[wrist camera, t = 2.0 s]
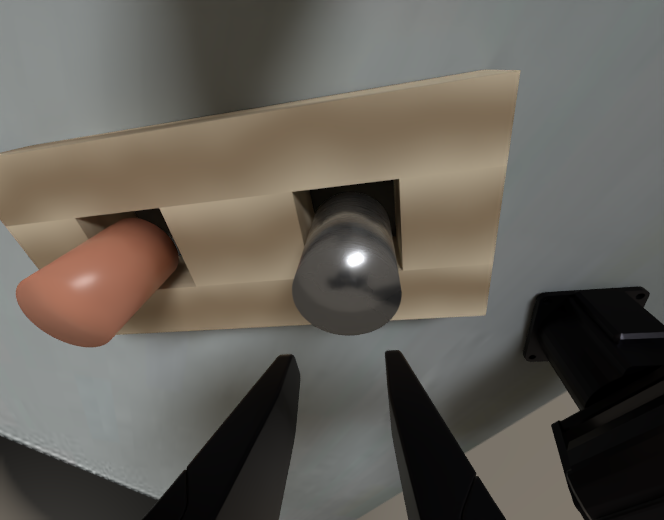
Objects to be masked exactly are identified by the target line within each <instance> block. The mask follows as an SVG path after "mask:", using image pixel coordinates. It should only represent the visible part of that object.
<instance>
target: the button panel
mask: <svg viewBox="0 0 664 520" xmlns="http://www.w3.org/2000/svg"><path fill="white" fill-rule="evenodd" d="M519 77H520V70H479V71H473V72H468V73H462V74H456V75H450V76H444V77H438V78H432V79H426V80H420V81H414V82H408V83H402V84H396V85H390V86H384V87H378V88H372V89H366V90H360V91H354V92H348V93H342V94H336V95H330V96H324V97H318V98H312V99H306V100H300V101H294V102H289V103H283V104H277V105H271V106H265V107H259V108H253V109H247V110H241V111H235V112H229V113H223V114H217V115H211V116H205V117H199V118H193V119H187V120H181V121H175V122H169V123H163V124H157V125H151V126H145V127H139V128H133V129H127V130H121V131H115V132H110V133H104V134H98V135H92V136H86V137H80V138H74V139H68V140H62V141H56V142H50V143H44V144H38V145H32V146H27V147H23V148H19V149H14V150H10V151H6V152H2V153H0V220H1V221H2V223H3V224H4V225H5V226H6V228H7V229H8V230H9V232H10V233H11V234H12V235H13V237H14V238H15V239H16V241H17V242H18V243H19V244H20V246H21V247H22V248H23V250H24V251H25V252H26V253H27V255H28V256H29V257H30V259H31V260H32V261H33V262H34V264H35V265H36V266H37V268H38V269H39V270H40V269H42V268H43V267H45V266H46V265H48V264H50V263H51V262H53V261H54V260H56V259H58V258H59V257H61V256H62V255H64V254H66V253H67V252H69V251H70V250H72V249H74V248H75V247H77V246H78V245H80V244H82V243H83V242H85V241H86V240H88V239H90V238H91V237H93V236H94V235H96V234H98V233H99V232H101V231H102V230H104V229H106V228H107V227H109V226H110V225H112V224H114V223H115V222H117V221H119V220H121V219H124V218H137V216H136V214H135V212H134V211H138V210H146V209H154V208H159V209H160V211H161V213H162V215H163V217H164V219H165V221H166V223H167V225H168V228H169V230H170V232H171V234H172V236H173V238H174V240H175V242H176V244H177V247H178V249H179V251H180V253H181V255H182V256H179V262H178V266H177V268H176V270H175V271H174V272H173V273H172V274H171V275H170V276H169V277H168V279H167V280H166V281H165V282H164V283H163V284H162V285H161V286H160V287H159V288H158V289H157V290H156V291H155V293H154V294H153V295H152V296H151V297H150V298H149V299H148V300H147V301H146V302H145V303H144V304H143V305H142V307H141V308H140V309H139V310H138V311H137V312H136V313H135V314H134V315H133V316H132V317H131V318H130V320H129V321H128V322H127V323H126V324H125V325H124V326H123V327H122V328H121V329H120V330H119V331H118V332H117V334H116V335H119V334H138V333H158V332H177V331H196V330H215V329H234V328H253V327H273V326H292V325H311V323H309V322H308V321H307V320H306V319H305V318H304V317H303V316H302V315H301V314H300V312H299V311H298V309H297V308H296V306H295V303H294V301H293V296H292V284H293V280H294V277H295V274H296V271H297V268H298V265H299V262H300V259H301V256H302V253H303V249H304V246H305V243H306V240H307V237H308V234H309V231H310V228H311V225H312V222H313V219H314V216H315V215H314V210H313V205H312V200H311V194H310V190H311V189H319V188H328V187H336V186H344V185H352V184H361V183H369V182H377V181H385V180H393V182H394V203H395V223H396V236H392V238H393V243H394V249H395V255H396V261H397V267H398V272H399V278H400V284H401V291H402V297H401V303H400V306H399V308H398V310H397V312H396V314H395V315H394V316H393V318H392V319H391V320H407V319H426V318H445V317H464V316H483V315H486V308H487V301H488V294H489V287H490V280H491V273H492V266H493V259H494V252H495V245H496V238H497V231H498V224H499V217H500V210H501V203H502V196H503V189H504V182H505V175H506V168H507V161H508V154H509V147H510V140H511V133H512V126H513V119H514V112H515V105H516V98H517V91H518V84H519Z"/></svg>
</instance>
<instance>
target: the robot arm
mask: <svg viewBox="0 0 664 520" xmlns="http://www.w3.org/2000/svg"><path fill="white" fill-rule="evenodd" d="M649 294H650V293H649V292H648V291H647V290H646V289H645V288H643V287H623V288H606V289H590V290H574V291H557V292H545V293H542V294H540V295H539V296H538V297H537V299H536V303H535V307H534V311H533V315H532V319H531V323H530V327H529V331H528V335H527V339H526V343H525V347H524V351H523V356H524V357H525V359H526V360H527V361H530V362H534V361H549V362H550V364H551V365H552V367H553V369H554V370H555V372H556V373H557V375H558V376H559V378H560V380H561V381H562V383H563V384H564V386H565V388H566V389H567V391H568V392H569V394H570V395H571V397H572V399H573V400H574V402H575V403H576V405H577V406H578V408H579V410H580V411H579V412H577V413H575V414H573V415H571V416H570V417H568V418H566V419H564V420H562V421H557V422H555V423H553V424H552V425H551V427H552V430H553V433H554V437H555V441H556V444H557V448H558V452H559V455H560V459H561V462H562V466H563V470H564V473H565V477H566V481H567V484H568V488H569V491H570V493H571V496H572V499H573V503H574V505H575V507H576V508H577V509H578V511H579V512H580V513H581V515H582V516H583V518H584V520H664V325H663V324H662V323H661V322H660V321H658V320H657V319H656V318H655V317H654V316H653V315H651V314H650V313H649V312H648V311H647V310H646V309H644V305H645V303H646V301H647V299H648V297H649ZM546 299H547V300H546ZM544 300H545V301H544ZM385 361H386V375H387V388H388V399H389V409H390V420H391V430H392V438H393V444H394V449H395V454H396V459H397V464H398V469H399V475H400V480H401V485H402V490H403V495H404V500H405V505H406V510H407V515H408V520H506V519H505V517H504V515H503V514H502V513H501V511H500V509H499V508H498V506H497V505H496V503H495V502H494V500H493V499H492V497H491V496H490V494H489V492H488V491H487V489H486V488H485V486H484V484H483V483H482V481H481V480H480V478H479V477H478V476H476V472H475V470H474V469H473V467H472V465H471V464H470V462H469V461H468V459H467V457H466V456H465V454H464V452H463V451H462V449H461V448H460V446H459V444H458V443H457V441H456V440H455V438H454V436H453V435H452V433H451V432H450V430H449V428H448V427H447V425H446V423H445V422H444V420H443V419H442V417H441V415H440V414H439V412H438V411H437V409H436V407H435V406H434V404H433V403H432V401H431V399H430V398H429V396H428V394H427V393H426V391H425V390H424V388H423V386H422V385H421V383H420V382H419V380H418V378H417V377H416V375H415V374H414V372H413V370H412V369H411V367H410V365H409V364H408V362H407V361H406V359H405V357H404V356H403V354H402V353H401V352H400V351H399V350H391V351H386V352H385ZM299 389H300V372H299V369H298V366H297V363H296V359H295V357H294V355H292V354H286V355H280V356H278V357H277V358H276V360H275V361H274V362H273V363H272V364H271V366H270V367H269V368H268V369H267V370H266V372H265V373H264V374H263V375H262V376H261V378H260V379H259V380H258V381H257V383H256V384H255V385H254V386H253V387H252V389H251V390H250V391H249V392H248V393H247V395H246V396H245V397H244V398H243V399H242V401H241V402H240V403H239V404H238V406H237V407H236V408H235V409H234V410H233V412H232V413H231V414H230V415H229V416H228V418H227V419H226V420H225V421H224V422H223V424H222V425H221V426H220V427H219V429H218V430H217V431H216V432H215V433H214V435H213V436H212V437H211V438H210V439H209V441H208V442H207V443H206V444H205V445H204V447H203V448H202V449H201V450H200V451H199V453H198V454H197V455H196V456H195V458H194V459H193V460H192V461H191V462H190V464H189V465H188V466H187V470H184V471H183V472H182V473H181V474H180V476H179V477H178V478H177V479H176V480H175V482H174V483H173V484H172V485H171V486H170V488H169V489H168V490H167V491H166V492H165V493H164V495H163V496H162V497H161V498H160V499H159V500H158V502H157V503H156V504H155V505H154V506H153V507H152V509H151V510H150V511H149V512H148V513H147V514H146V515H145V516H144V517H143V518H142V519H141V520H279V515H280V510H281V505H282V500H283V495H284V490H285V485H286V480H287V475H288V470H289V465H290V459H291V454H292V449H293V444H294V439H295V432H296V422H297V411H298V400H299Z"/></svg>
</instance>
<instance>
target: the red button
mask: <svg viewBox="0 0 664 520" xmlns="http://www.w3.org/2000/svg"><path fill="white" fill-rule="evenodd" d="M178 262H179V256H178V251H177V249H176V246H175V244H174V243H173V241H172V240H171V238H170V237H169V236H168V235H167V234H166V233H165V232H164V231H163V230H162V229H160V228H159V227H157V226H156V225H154V224H152V223H150V222H148V221H146V220H142V219H138V218H124V219H121V220H119V221H117V222H115V223H114V224H112V225H110V226H109V227H107V228H106V229H104V230H102V231H101V232H99V233H98V234H96V235H94V236H93V237H91V238H90V239H88V240H86V241H85V242H83V243H82V244H80V245H78V246H77V247H75V248H74V249H72V250H70V251H69V252H67V253H66V254H64V255H62V256H61V257H59V258H58V259H56V260H54V261H53V262H51V263H50V264H48V265H46V266H45V267H43V268H42V269H40V270H38V271H37V272H35V273H34V274H32V275H30V276H29V277H27V278H26V279H24V280H22V281H21V282H20V283H19V285H18V286H17V289H16V298H17V302H18V304H19V306H20V308H21V310H22V311H23V313H24V314H25V315H26V316H27V317H28V318H29V320H30V321H31V322H33V323H34V324H35V325H36V326H37V327H38V328H40V329H41V330H43V331H44V332H46V333H47V334H49V335H51V336H52V337H54V338H56V339H58V340H61V341H63V342H66V343H69V344H72V345H76V346H81V347H98V346H102V345H104V344H106V343H108V342H109V341H110V340H111V339H112V338H113V337H114V336H115V335H116V334H117V332H118V331H119V330H120V329H121V328H122V327H123V326H124V325H125V324H126V323H127V322H128V321H129V320H130V318H131V317H132V316H133V315H134V314H135V313H136V312H137V311H138V310H139V309H140V308H141V307H142V305H143V304H144V303H145V302H146V301H147V300H148V299H149V298H150V297H151V296H152V295H153V294H154V293H155V291H156V290H157V289H158V288H159V287H160V286H161V285H162V284H163V283H164V282H165V281H166V280H167V279H168V277H169V276H170V275H171V274H172V273H173V272H174V271H175V270H176V268H177V266H178Z"/></svg>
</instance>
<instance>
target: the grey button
mask: <svg viewBox="0 0 664 520" xmlns="http://www.w3.org/2000/svg"><path fill="white" fill-rule="evenodd" d="M292 296H293V301H294V303H295V306H296V308H297V309H298V311H299V312H300V314H301V315H302V316H303V317H304V318H305V319H306V320H307V321H308V322H309V323H311V324H312V325H314V326H315V327H317V328H319V329H321V330H324V331H326V332H329V333H333V334H338V335H360V334H365V333H369V332H372V331H374V330H376V329H378V328H380V327H382V326H383V325H385V324H386V323H388V322H389V321H390V320H391V319H392V318H393V316H394V315H395V314H396V312H397V310H398V308H399V306H400V303H401V297H402V291H401V284H400V278H399V272H398V267H397V261H396V255H395V249H394V243H393V238H392V232H391V226H390V220H389V217H388V214H387V212H386V210H385V209H384V207H383V206H382V205H381V204H380V203H379V202H378V201H377V200H375V199H374V198H372V197H370V196H368V195H366V194H363V193H358V192H344V193H340V194H336V195H334V196H332V197H330V198H329V199H327V200H326V201H325V202H323V203H322V204H321V206H320V207H319V208H318V210H317V211H316V214H315V216H314V219H313V222H312V225H311V228H310V231H309V234H308V237H307V240H306V243H305V246H304V249H303V253H302V256H301V259H300V262H299V265H298V268H297V271H296V274H295V277H294V280H293V284H292Z"/></svg>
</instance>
